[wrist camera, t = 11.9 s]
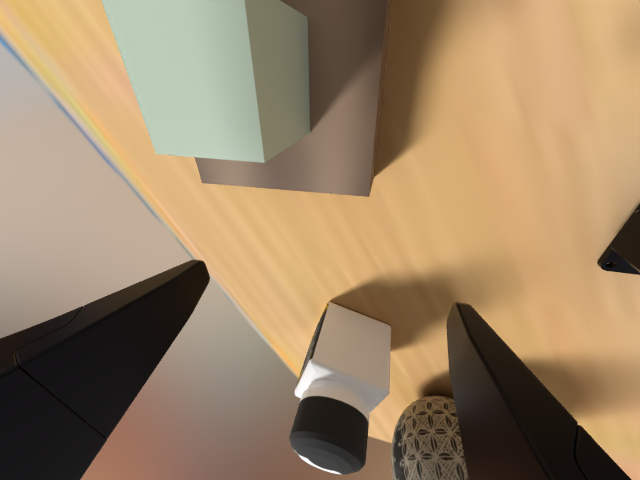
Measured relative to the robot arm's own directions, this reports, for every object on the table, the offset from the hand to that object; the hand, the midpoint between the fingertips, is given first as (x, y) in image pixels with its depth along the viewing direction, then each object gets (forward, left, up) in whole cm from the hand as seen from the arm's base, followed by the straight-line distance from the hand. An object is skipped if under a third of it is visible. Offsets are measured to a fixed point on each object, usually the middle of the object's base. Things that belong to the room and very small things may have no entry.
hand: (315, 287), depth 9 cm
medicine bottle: (0, +18, -12) cm, 22 cm away
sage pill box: (+5, -6, -8) cm, 12 cm away
